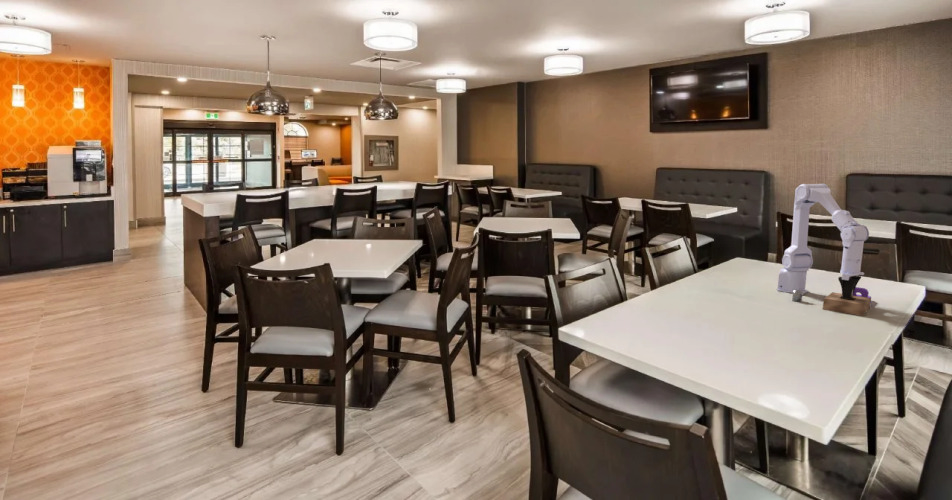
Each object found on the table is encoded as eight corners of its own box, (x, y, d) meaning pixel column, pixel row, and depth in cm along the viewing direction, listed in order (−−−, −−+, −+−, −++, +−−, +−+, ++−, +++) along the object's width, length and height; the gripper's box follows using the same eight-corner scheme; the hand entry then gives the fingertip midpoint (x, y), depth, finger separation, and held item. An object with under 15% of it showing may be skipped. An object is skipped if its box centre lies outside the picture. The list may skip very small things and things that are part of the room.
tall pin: (840, 303, 198) (841, 282, 197) (842, 301, 201) (844, 281, 200) (850, 304, 196) (852, 284, 195) (852, 302, 198) (854, 282, 197)
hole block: (822, 309, 199) (823, 298, 198) (831, 302, 207) (832, 292, 206) (862, 315, 190) (863, 304, 190) (869, 308, 199) (871, 298, 198)
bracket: (865, 308, 201) (868, 289, 200) (843, 304, 205) (845, 286, 204) (870, 301, 210) (872, 283, 208) (849, 298, 214) (851, 281, 213)
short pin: (791, 301, 210) (791, 290, 209) (793, 299, 212) (794, 289, 211) (800, 302, 208) (801, 292, 207) (802, 300, 210) (803, 290, 209)
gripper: (860, 263, 188) (856, 302, 190) (869, 257, 198) (865, 294, 200) (836, 261, 193) (832, 298, 195) (846, 255, 203) (842, 291, 205)
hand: (847, 296), depth 198 cm, fingers closed on tall pin, 3 cm apart
